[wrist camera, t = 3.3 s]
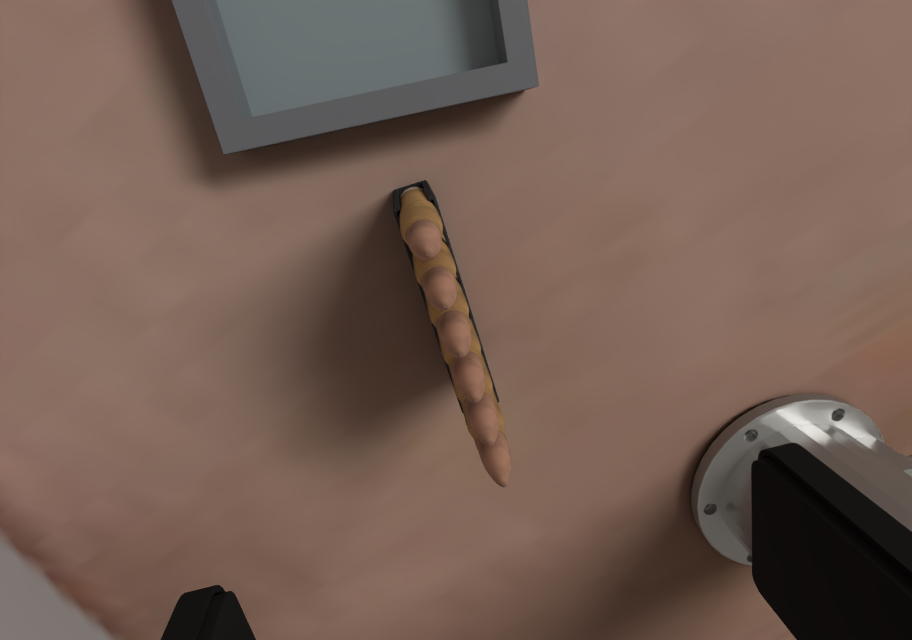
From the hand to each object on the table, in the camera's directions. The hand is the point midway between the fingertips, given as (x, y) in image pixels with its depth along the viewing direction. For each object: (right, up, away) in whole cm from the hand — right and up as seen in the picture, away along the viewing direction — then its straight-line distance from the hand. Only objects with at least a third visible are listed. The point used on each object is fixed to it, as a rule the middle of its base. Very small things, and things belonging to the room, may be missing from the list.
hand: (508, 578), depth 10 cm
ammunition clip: (-2, +7, +20) cm, 21 cm away
